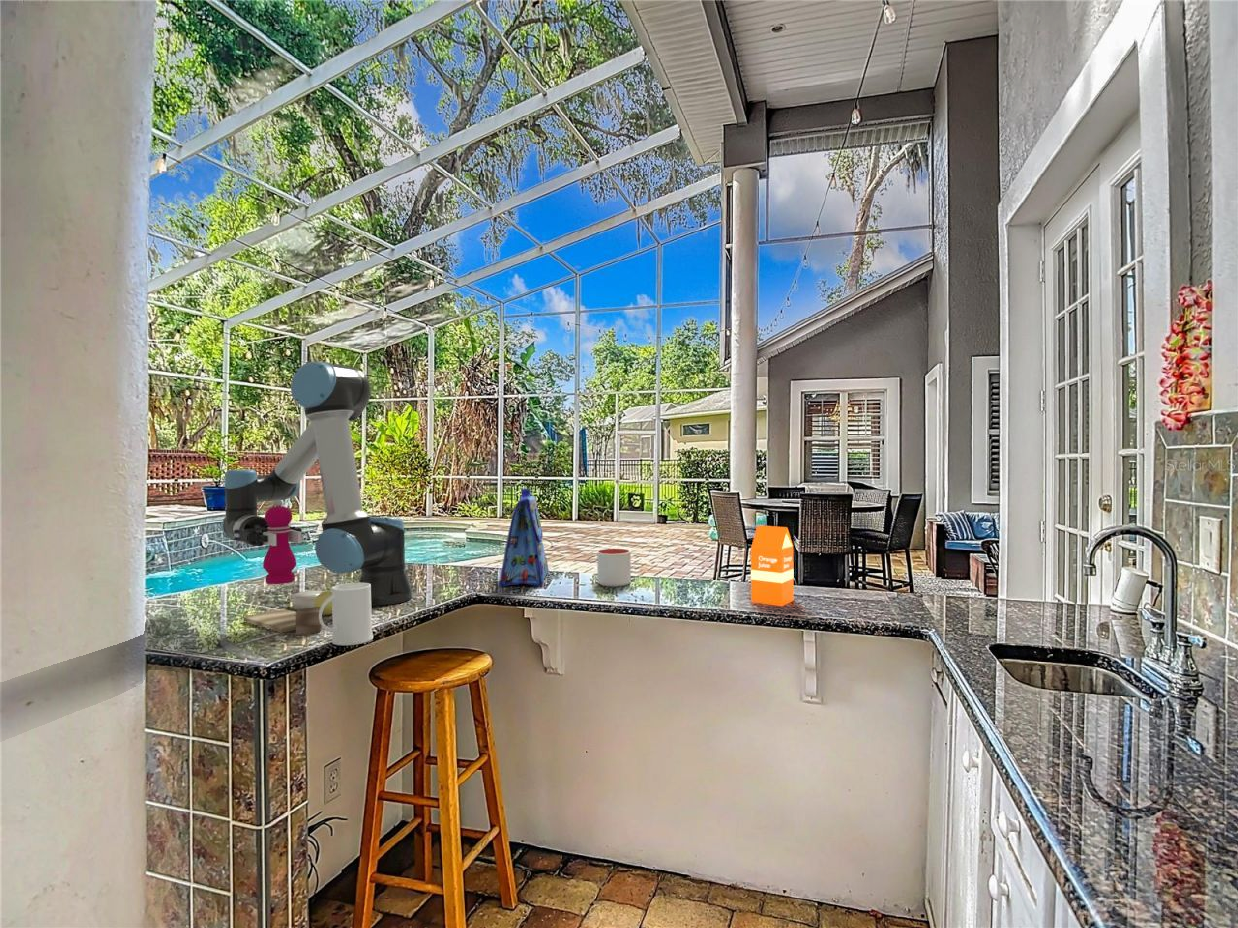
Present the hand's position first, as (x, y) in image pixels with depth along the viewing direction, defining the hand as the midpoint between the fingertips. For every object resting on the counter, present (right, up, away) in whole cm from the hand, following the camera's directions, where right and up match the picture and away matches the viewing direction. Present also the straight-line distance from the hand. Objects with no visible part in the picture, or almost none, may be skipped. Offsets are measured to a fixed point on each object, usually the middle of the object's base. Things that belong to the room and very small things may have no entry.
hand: (287, 538), depth 162 cm
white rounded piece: (-4, -21, +21) cm, 30 cm away
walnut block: (+7, -21, -4) cm, 23 cm away
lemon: (+5, -21, +11) cm, 24 cm away
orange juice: (+120, -19, +19) cm, 123 cm away
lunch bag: (+49, -19, +53) cm, 75 cm away
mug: (+19, -21, -13) cm, 31 cm away
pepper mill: (-4, -11, +4) cm, 12 cm away
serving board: (-3, -21, +4) cm, 22 cm away
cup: (+77, -19, +44) cm, 91 cm away
